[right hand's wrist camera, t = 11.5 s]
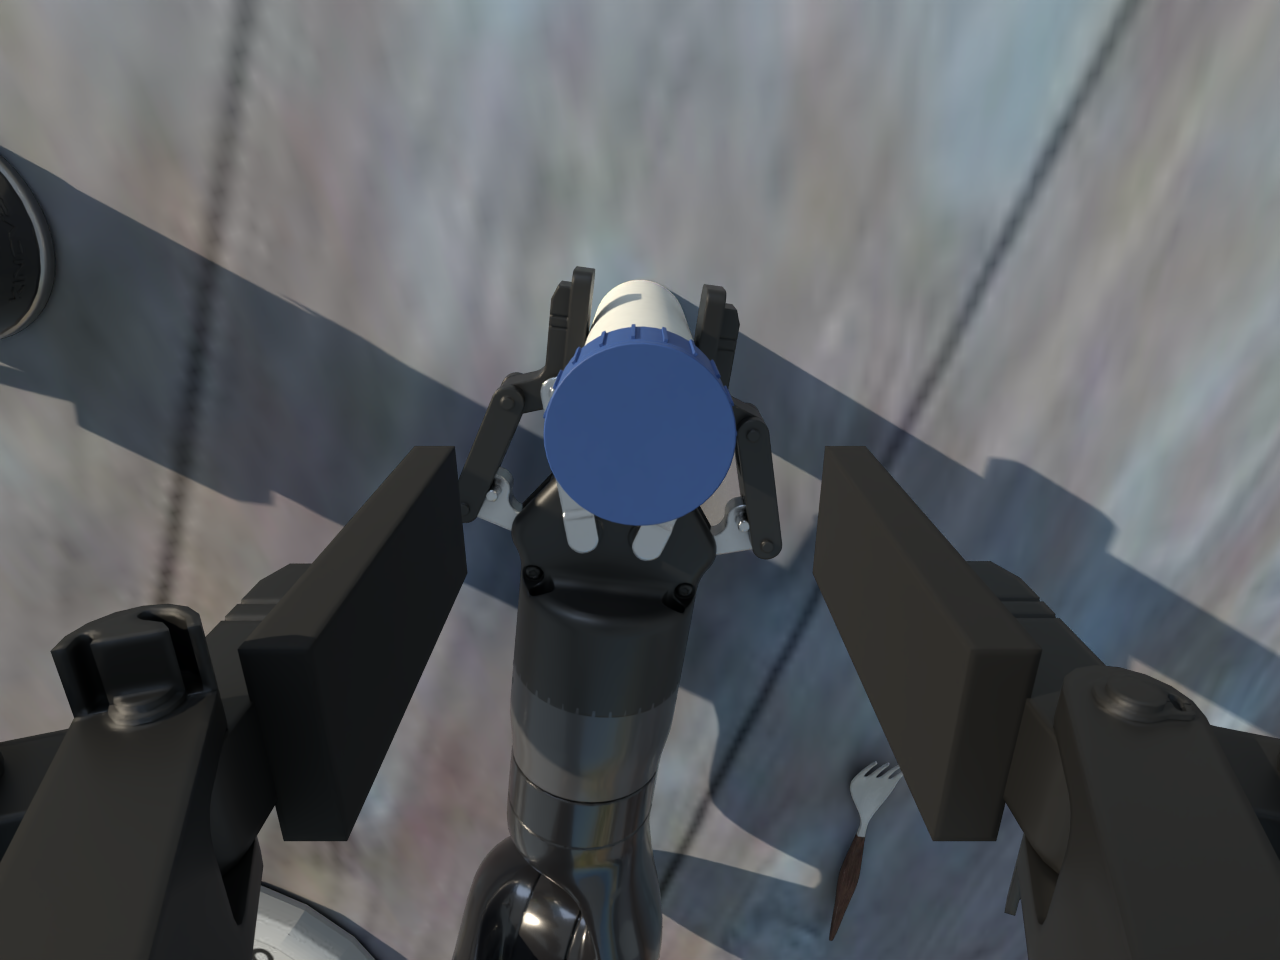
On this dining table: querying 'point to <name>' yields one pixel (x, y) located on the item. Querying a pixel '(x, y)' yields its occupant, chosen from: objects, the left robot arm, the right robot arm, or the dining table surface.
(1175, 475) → the dining table surface
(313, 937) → the wall clock
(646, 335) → the lid
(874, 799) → the fork
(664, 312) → the jar
